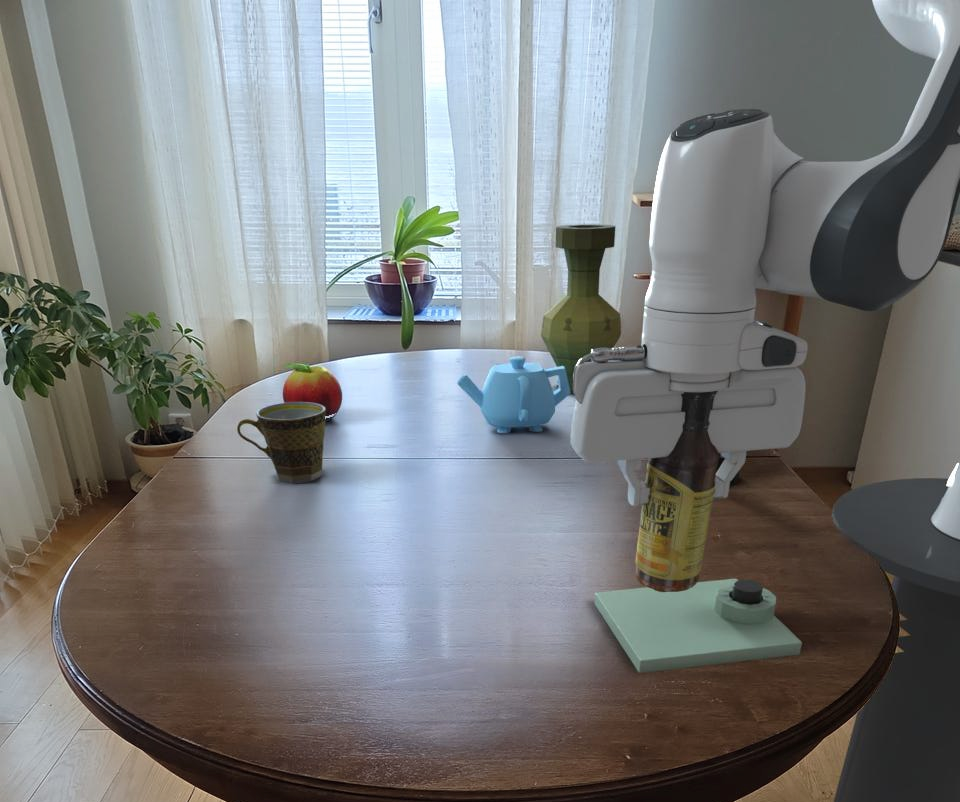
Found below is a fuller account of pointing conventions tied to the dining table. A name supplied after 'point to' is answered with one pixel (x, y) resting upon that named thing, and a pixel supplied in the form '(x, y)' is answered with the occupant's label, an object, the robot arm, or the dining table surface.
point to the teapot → (518, 394)
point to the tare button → (747, 592)
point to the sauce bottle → (679, 503)
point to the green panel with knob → (694, 626)
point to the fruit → (313, 387)
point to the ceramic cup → (292, 439)
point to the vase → (581, 299)
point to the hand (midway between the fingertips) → (677, 500)
